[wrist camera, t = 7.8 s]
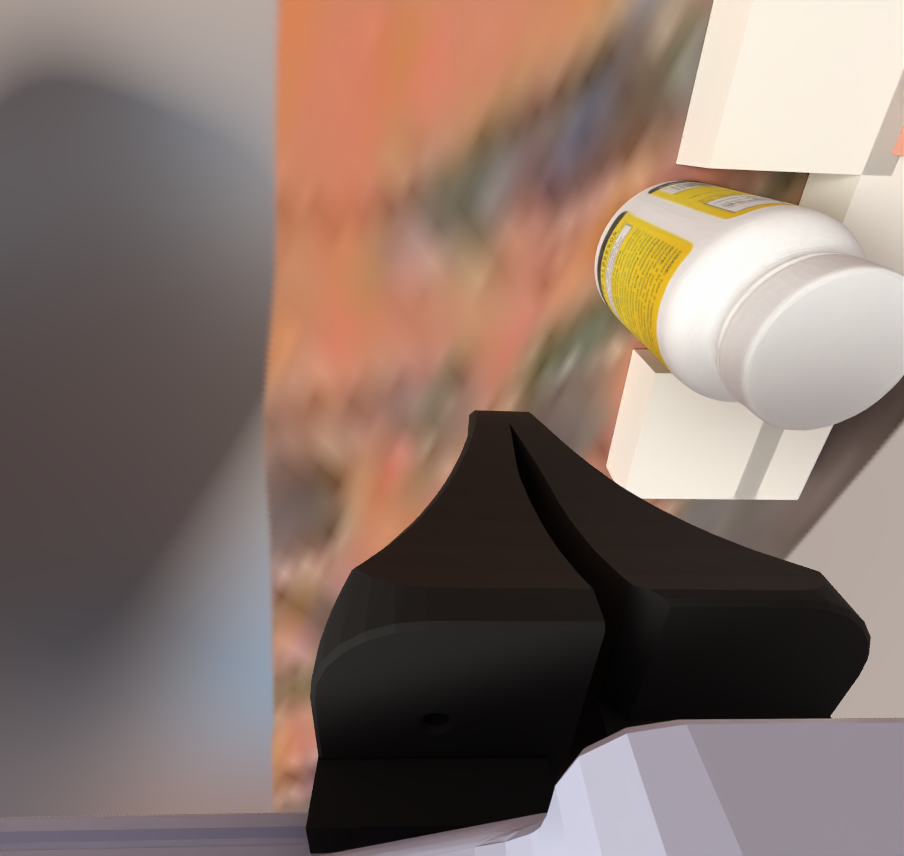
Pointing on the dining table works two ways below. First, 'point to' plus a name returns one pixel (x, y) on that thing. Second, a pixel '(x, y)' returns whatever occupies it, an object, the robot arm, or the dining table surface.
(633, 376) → the socket dock
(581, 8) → the dining table surface
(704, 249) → the supplement bottle
